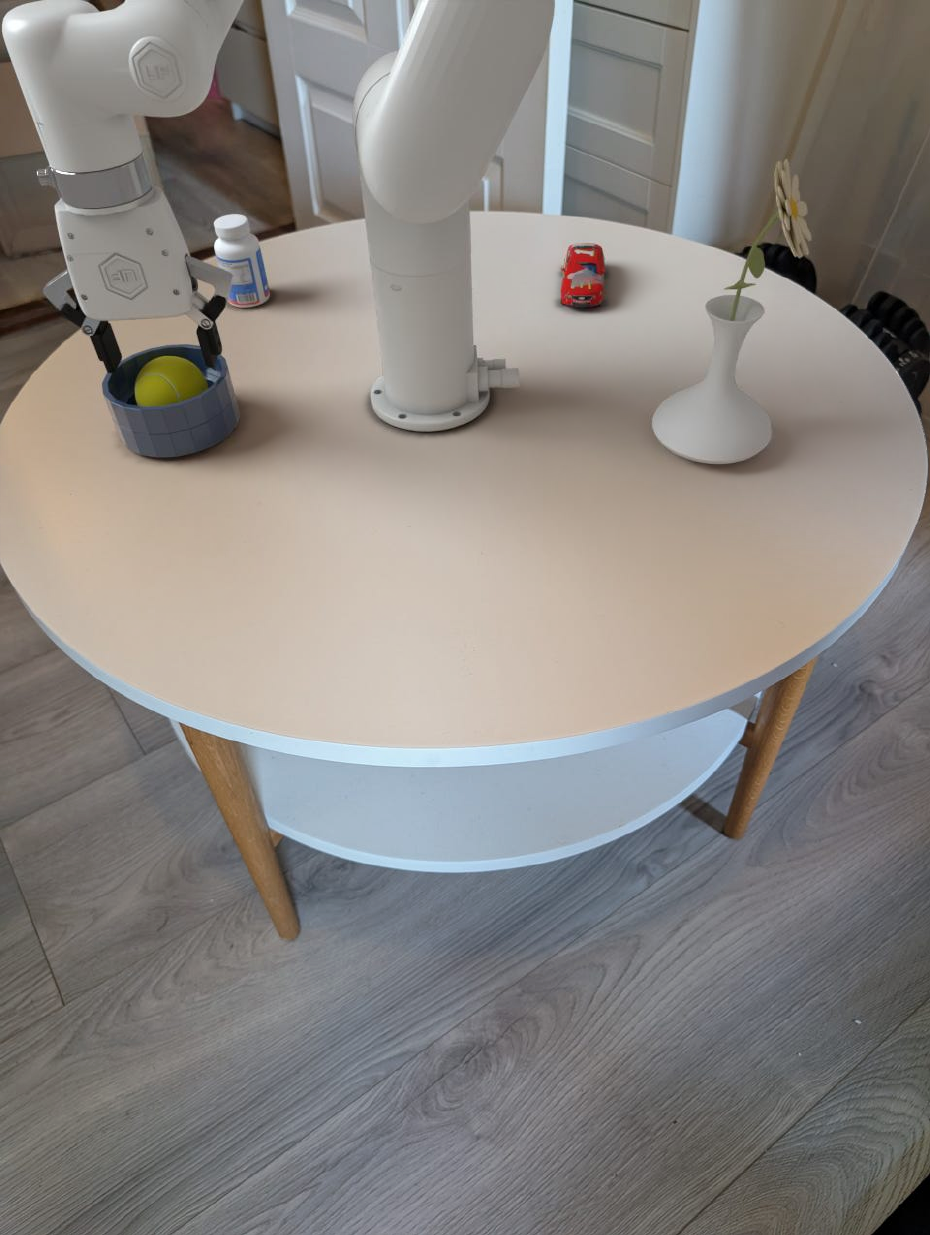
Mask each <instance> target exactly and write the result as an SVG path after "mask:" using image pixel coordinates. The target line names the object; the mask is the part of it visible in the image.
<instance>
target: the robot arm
mask: <svg viewBox="0 0 930 1235" xmlns="http://www.w3.org/2000/svg"><path fill="white" fill-rule="evenodd" d="M244 1H245V0H124V2H123V3H121V4H120V5H119V6H117V7H116V8H115V7H114V8H113V9H108V10H103V11H100V10H99V9H98V8H97V7H96V6H95V5H93V4H92V3H90V2H88V1H86V0H37V1H31V2H27V3H24V4H21V5H18V6H15V7H14V8H11V9H10V10H9V11H7V13H6V14H5V15H4V17H3V18H2V22H1V23H2V24H1V33H2V34H1V35H2V37H3V41H4V44H5V47H6V50H7V53H8V55H9V58H10V61H11V64H12V68H13V69H14V72H15V74H16V77H17V80H18V83H19V86H20V88H21V91H22V93H23V97H24V99H25V102H26V105H27V107H28V110H29V113H30V115H31V118H32V121H33V124H34V127H35V129H36V132H37V134H38V136H39V140H40V142H41V145H42V148H43V150H44V153H45V156H46V159H47V161H48V165H47V166H46V167H45V168H38V169H37V170H36V176H37V180H38V183H39V184H40V185H41V186H42V187H50V188H51V189H52V188H54V189H55V190H56V194H57V196H58V199H59V200H58V201H57V202H56V203H55V204H54V213H55V220H56V226H57V231H58V236H59V239H60V244H61V248H62V253H63V256H64V261H65V264H66V267H67V268H66V269H65V270H63V271H62V272H60V273H59V274H57V275H55V277H53V278H52V279H50V280H49V281H47V283H46V284H45V286H44V287H43V289H42V294H43V295H44V297H45V298H46V299H47V300H48V301H49V302H50V303H51V304H52V305H53V306H54V307H55V308H56V309H58V310H59V311H60V314H61V316H62V317H63V318H65V319H66V320H67V321H69V322H71V323H73V324H74V325H76V326H77V327H79V328H80V331H81V332H82V333H83V334H84V335H85V336H87V337H89V338H90V341H91V343H92V345H93V348H94V351H95V354H96V356H97V359H98V360H99V362H102V363H103V366H104V368H105V370H106V374H107V373H114V372H116V370H117V368H118V366H119V364H120V362H121V361H122V360H123V354H122V351H121V348H120V345H119V343H118V341H117V338H116V335H115V332H114V329H113V326H112V324H111V323H110V322H113V321H132V320H133V321H135V320H151V319H152V320H153V319H167V318H176V317H181V316H183V315H185V316H186V317H188V318H189V319H190V320H192V321H193V322H194V323H196V324H197V328H196V331H195V332H196V333H195V334H196V337H197V341H198V345H199V346H200V348H201V351H202V355H203V358H204V362H205V365H206V367H208V368H214V366H215V363H216V360H217V357H218V355H222V352H223V345H222V341H221V336H220V332H219V330H218V325H217V321H216V320H218V318H219V317H220V315H221V314H222V313H223V311H224V310H225V308H226V306H227V303H228V297H229V293H230V290H231V286H232V282H233V278H234V277H233V275H232V273H230V272H228V271H225V270H223V269H220V268H219V266H215V265H213V264H210V263H208V262H205V261H203V260H201V259H198V258H195V257H193V256H191V255H190V254H191V253H190V251H189V248H188V245H187V242H186V239H185V238H184V234H183V232H182V230H181V227H180V225H179V223H178V220H177V218H176V216H175V213H174V211H173V209H172V207H171V205H170V203H169V201H168V199H167V197H166V195H165V194H164V191H163V189H162V188H161V187H160V186H158V185H157V186H156V185H154V183H153V180H152V177H151V176H152V175H151V173H150V170H149V166H148V163H147V160H146V156H145V153H144V150H143V146H142V142H141V139H140V136H139V135H140V134H139V132H138V128H137V126H136V121H135V119H134V118H135V117H134V116H141V117H151V118H152V117H153V118H175V117H181V116H185V115H187V114H190V113H191V112H193V111H195V110H197V108H199V107H201V105H202V104H203V103H204V102H205V100H206V99H207V96H208V95H209V92H210V90H211V87H212V84H213V79H214V74H215V68H216V62H217V59H218V55H219V52H220V49H221V48H222V46H223V44H224V42H225V40H226V37H227V35H228V33H229V31H230V29H231V27H232V26H233V24H234V21H235V20H236V18H237V16H238V14H239V12H240V10H241V7H242V5H243V3H244ZM413 5H414V8H415V9H414V12H413V15H412V17H411V19H410V22H409V24H408V27H407V29H406V32H405V35H404V37H403V40H402V42H401V45H400V47H399V49H398V50H394V51H391V52H388V53H386V54H385V55H382V56H381V57H379V58H377V59H376V60H375V61H374V62H373V63H372V64H371V65H370V66H368V68H367V70H366V71H365V72H364V74H363V75H362V77H361V79H360V81H359V83H358V85H357V87H356V91H355V94H354V98H353V104H352V114H351V115H352V131H353V140H354V146H355V153H356V158H357V159H356V160H357V165H358V173H359V180H360V188H361V196H362V203H363V204H362V205H363V212H364V222H365V229H366V230H365V231H366V239H367V246H368V255H369V256H368V257H369V266H370V274H371V283H372V291H373V300H374V301H373V302H374V309H375V318H376V325H377V327H376V328H377V334H378V344H379V350H380V351H379V354H380V361H381V369H382V374H381V375H380V376H379V377H378V378H377V379H375V381H374V383H373V384H372V386H371V389H370V403H371V408H372V410H373V412H374V413H375V415H376V416H377V417H378V418H379V419H380V420H382V421H383V422H385V423H387V424H388V425H390V426H393V427H395V428H399V429H401V430H402V429H403V430H406V431H413V432H438V431H440V432H441V431H446V430H449V429H454V428H458V427H460V426H463V425H466V424H467V423H469V422H472V421H473V420H475V419H476V418H477V417H479V416H480V415H481V414H482V413H483V412H484V411H485V410H486V408H487V407H488V405H489V403H490V399H491V398H490V397H491V394H490V393H491V392H490V391H491V390H490V388H502V389H506V388H507V389H508V388H509V389H510V388H519V387H520V370H519V367H510V368H508V367H507V364H506V363H507V362H506V361H507V360H506V358H494V359H484V357H478V354H477V353H478V351H477V350H478V349H477V344H475V343H474V314H473V313H474V310H473V307H474V306H473V278H472V276H473V275H472V232H471V210H470V198H471V197H472V195H473V194H474V192H475V191H476V189H477V188H478V186H480V185H479V184H480V183H481V181H482V180H483V178H484V176H485V174H486V172H487V171H488V169H489V167H490V165H491V163H492V162H493V159H494V157H495V155H496V154H497V151H498V149H499V147H500V146H501V144H502V141H503V139H504V137H505V135H506V133H507V131H508V129H509V127H510V126H511V124H512V122H513V119H514V117H515V115H516V113H517V112H518V110H519V108H520V106H521V104H522V101H523V99H524V97H525V95H526V93H527V91H528V89H529V87H530V85H531V83H532V81H533V79H534V77H535V76H536V73H537V71H538V69H539V67H540V64H541V63H542V61H543V60H542V59H543V57H544V55H545V52H546V49H547V46H548V44H549V40H550V36H551V32H552V28H553V24H554V17H555V8H556V0H413ZM198 280H199V281H201V282H204V283H206V284H209V285H211V286H213V288H214V294H213V296H212V297H211V298H210V299H208V298H207V297H205V296H204V295H202V293H200V292H199V291H198V290H199V283H198V282H199V281H198ZM71 288H73V290H74V294H75V297H76V299H77V300H76V299H74V298H72V297H71V295H70V294H69V293H68V292H67V291H68V290H70V289H71Z"/></svg>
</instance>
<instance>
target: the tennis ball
mask: <svg viewBox="0 0 930 1235" xmlns="http://www.w3.org/2000/svg"><path fill="white" fill-rule="evenodd" d="M207 389H208V384H207V381H206V379H205V377H204V375H203V374H202V372H201V371H200V370H199V369H198V368H197V367H196V366H195V365H194V364H193V363H192V362H190V361H188V360H186V359H183V358H180V357H176V356H162V357H158V358H156V359H154V360H152V361H150V362H149V363H147V364H146V365H145V366H144V367H143V368H142V369H141V371H140V372H139V374H138V376H137V379H136V382H135V398H136V402H137V405H138V406H143V407H149V406H164V405H169V404H174V403H178V402H182V401H185V400H187V399H190V398H192V397H195V396H197V395H199V394H201V393H202V392H204V391H205V390H207Z"/></svg>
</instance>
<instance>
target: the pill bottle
mask: <svg viewBox="0 0 930 1235" xmlns="http://www.w3.org/2000/svg"><path fill="white" fill-rule="evenodd" d="M213 226H214V230H215V231H214V232H215V234H216V236H217V239H216V240H215V241H214V245H213V249H214V253H215V257H216V261H217V265H218V268H220V269H223V270H225V271H228V272H230V273H232V275H233V277H234V278H233V282H232V286H231V290H230V293H229V297H228V300H227V303H229V304H230V305H231V306H233V307H235V308H240V309H242V308H243V309H247V308H254V307H258V306H260V305H263V304H264V303H266V302H268V300H269V298H270V296H271V292H270V291H271V290H270V286H269V281H268V277H267V272H266V267H265V263H264V258H263V253H262V249H261V245H260V241H259V239H258V237H257V236H256V235H255V234H253V233H252V232H251V227H250V224H249V219H248V217H247V216H245V215H243V214H241V213H239V214H238V213H231V214H226V215H221V216H219V217H217V218H216V219H215V220H214V222H213Z"/></svg>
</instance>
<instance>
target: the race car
mask: <svg viewBox="0 0 930 1235" xmlns="http://www.w3.org/2000/svg"><path fill="white" fill-rule="evenodd" d="M604 254H605V253H604V250H603V248H602V246H601V245H599V244H597V243H589V242H585V243H584V242H581V243H580V242H577V243H573V244H571V245H569V246H568V248H567V251H566V253H565V255H564V258H563V267H562V268H561V269H560V271H561V272H562V278H561V279H562V280H561V287H560V304H562V305H565V306H568V307H574V308H591V307H593V308H594V307H597V306H599V305H600V306H601V305H603V298H604V297H603V296H604V288H605V286H604V282H605V281H604V280H605V273H607V269H605V260H606V258H605V255H604Z"/></svg>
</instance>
